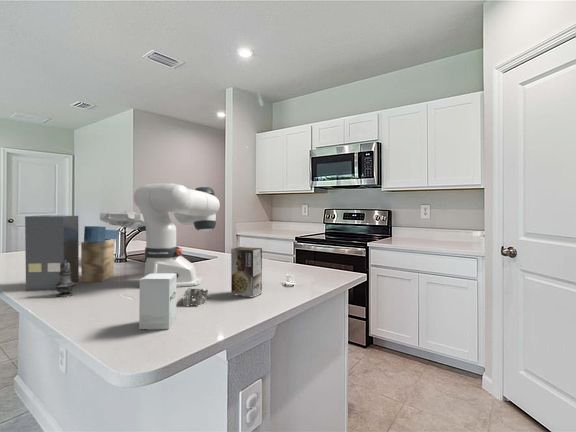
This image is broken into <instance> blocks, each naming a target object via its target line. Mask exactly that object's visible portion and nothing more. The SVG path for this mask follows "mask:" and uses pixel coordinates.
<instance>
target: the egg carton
mask: <svg viewBox="0 0 576 432" xmlns="http://www.w3.org/2000/svg"><path fill="white" fill-rule="evenodd" d="M208 294H209V290H208V289H205V290H204V289H203V288H201V289H200V288H195V287H194V288H192V287H187V290H185V291H184V292H183V294H181V297H182V306H186V305H191V304H197V305H201V304H204V303H205V304H206V302H207V299H208ZM192 296H193V297H192ZM190 297H191V298H190ZM206 298H207V299H206ZM205 301H206V302H205ZM184 304H185V305H184ZM197 305H196V306H197ZM191 306H192V305H191ZM201 306H202V305H201Z"/></svg>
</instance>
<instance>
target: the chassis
mask: <svg viewBox="0 0 576 432" xmlns="http://www.w3.org/2000/svg"><path fill="white" fill-rule="evenodd" d="M24 227H25V228H24V231H25V232H24V235H25V241H24V242H25V244H24V245H25V246H24V247H25V250H24V251H25V291H28V292H29V291H54V290H55V291H57V290H56V287H55V285H56V284H58V283H59V281H60V275H59V273H60V264H61V263H63V262H64V260H66V262H68V263H70V272H72V273H71V281H72V282H73V283H76V284H77V283H79V282H80V279H79V277H80V273H79V271H80V269H79V267H80V266H79V265H80V264H79V258H80V257H79V255H80V254H79V215H52V214H51V215H29V216H28V215H27V216H24Z"/></svg>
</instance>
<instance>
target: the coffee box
mask: <svg viewBox="0 0 576 432" xmlns="http://www.w3.org/2000/svg"><path fill="white" fill-rule="evenodd" d="M230 250H231V251H230V263H231V265H230V268H231V270H230V272H231V274H230V275H231V279H230V280H231V281H230V282H231V284H230V285H231V287H230V288H231V290H230V291H231V294H237V295H236V296H238V295H244V296H243V297H245V296H255V295H257V294H259V293H261V292H262V291H263V284H262V283H263V282H262V281H263V279H262V278H263V277H262V276H263V248H262V247H252V246H250V247H248V246H239V247H235V248H230ZM262 293H263V292H262ZM231 294H230V295H231Z"/></svg>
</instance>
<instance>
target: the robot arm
mask: <svg viewBox="0 0 576 432" xmlns="http://www.w3.org/2000/svg"><path fill="white" fill-rule="evenodd" d="M133 202H134V203H135V205H136V206H137V208H138V209H139V210H140V213H137V212H134V211H132V210H128V209H127V210H122V211H111V212H100V214H99V220H100V221H101V222H104V223H108V224H109V225H112V226H119V227H121V228H126V229H131V230H139V231H142V232H145V238H146V239H145V242H146V245H145V246H146V247H144V261H145V266H144V273H143V277H145V276H147V275H148V274H158V273H176V288H179V287H181V286H182V287H190V286H191V287H194V285H195V286H197V285H200V284H202V281H203V278H202V276H200V275H197V270H196V267H195V264H193V263H192V262H190V261H189V260H188V259H186V258H185V257H184V256H183V252H182V251H183V250H182V247H179V246H178V245H177V226H176V225H175V224H174V222H173V221H172V220H171V218H170V214H169V213H173V215H174V218H175V219H176V220H177V222H179V224H181V225H184V226H194V229H196V230H197V231H200V232H203V233H205V232H207V233H208V232H209V231H212V230H214V229H215V228H216V225H217V224H216V223H217V220H216V218H217V217H216V216H217V213H218V212H219V210H220V206H221V205H220V201H219V199H218V197H216V193H215V191H214V189H213V188H212V187H210V186H199V187H196V188H195V189H191V188H188V187H186V186H185V185H182V184H180V183H172V182H170V183H167V182H166V183H164V182H163V183H147V184H143V185H141V186H139V187H137V189H135V191H134V193H133Z"/></svg>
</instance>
